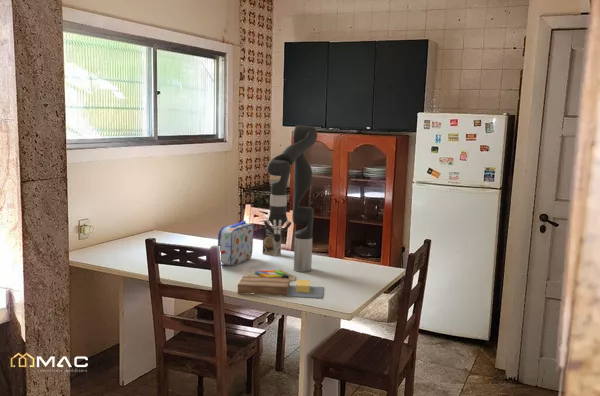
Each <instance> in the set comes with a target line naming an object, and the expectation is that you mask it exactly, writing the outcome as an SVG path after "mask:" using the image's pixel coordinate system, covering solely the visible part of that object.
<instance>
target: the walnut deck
mask: <svg viewBox="0 0 600 396" xmlns="http://www.w3.org/2000/svg"><path fill="white" fill-rule="evenodd" d="M290 282H291V281H290V278H272V277H251V276H247V275H243V276H242V277H241V279H240V280H239V282H238V283H237V294H240V293H254V294H253V295H258V294H269V295H268V296H278V295H282V296H281V297H283V296H284V297H286V296H287V293H288V289H289V286H290V285H291V283H290ZM240 295H241V294H240Z"/></svg>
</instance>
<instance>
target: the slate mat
mask: <svg viewBox="0 0 600 396" xmlns="http://www.w3.org/2000/svg"><path fill="white" fill-rule="evenodd" d="M324 288H325V286H315V285H314V286H313V285H310V291H309V292H296V285H293V284H292V285H291V284H290V286H289V289H288V293H287V296H285V297H287V298H302V299H303V298H305V299H307V298H308V299H324Z"/></svg>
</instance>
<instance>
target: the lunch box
mask: <svg viewBox="0 0 600 396" xmlns="http://www.w3.org/2000/svg"><path fill="white" fill-rule="evenodd" d="M254 230H255V229H254V225H253V224H251V223H248V222H247V221H246V220H241V221H239V222H236V223H233V224H228V225H225V226H223V227H221V228H220V229H219V231H218V236H217V247H218V246H220V252H221V262H222V265H227V266H236V265H239V264H241V263H244V262H245V261H247V260H250V259H251V258H252V256H253V247H254V245H253V244H254Z"/></svg>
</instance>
